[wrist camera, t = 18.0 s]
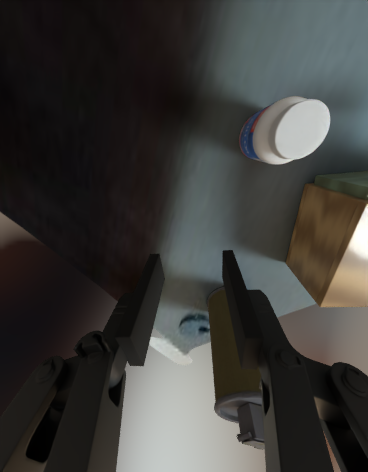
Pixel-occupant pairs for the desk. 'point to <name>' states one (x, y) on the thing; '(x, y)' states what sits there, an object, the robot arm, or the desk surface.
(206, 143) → the desk surface
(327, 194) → the cabinet
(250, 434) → the canister
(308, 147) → the pill bottle
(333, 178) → the storage drawer
